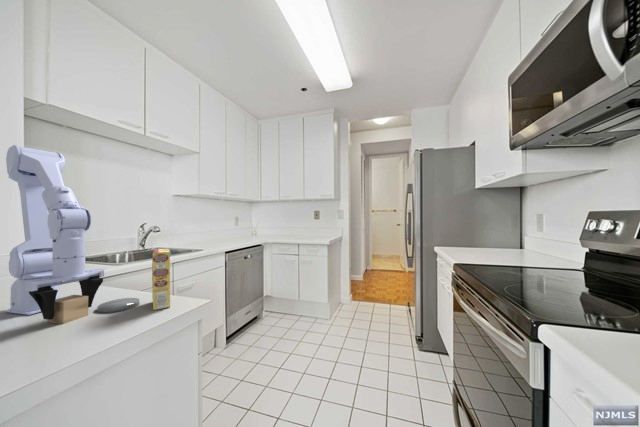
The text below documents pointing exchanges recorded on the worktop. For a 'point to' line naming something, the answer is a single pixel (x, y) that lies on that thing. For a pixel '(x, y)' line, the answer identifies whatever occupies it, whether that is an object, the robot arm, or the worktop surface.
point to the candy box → (161, 278)
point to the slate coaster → (118, 305)
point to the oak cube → (70, 308)
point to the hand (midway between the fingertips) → (68, 312)
